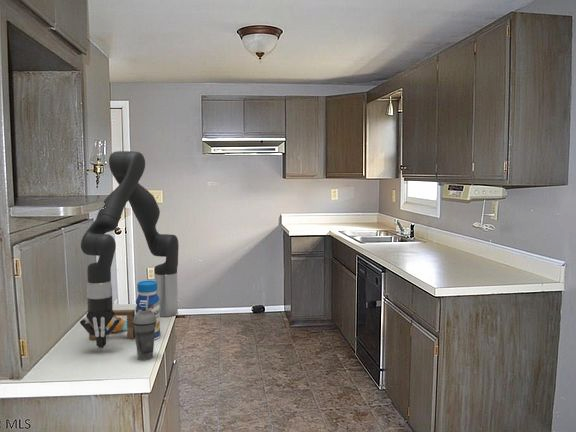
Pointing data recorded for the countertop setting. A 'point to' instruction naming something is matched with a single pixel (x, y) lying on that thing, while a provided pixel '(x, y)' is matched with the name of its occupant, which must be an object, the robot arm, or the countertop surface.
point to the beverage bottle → (149, 301)
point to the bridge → (130, 328)
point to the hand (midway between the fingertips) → (101, 347)
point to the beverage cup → (144, 332)
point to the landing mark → (123, 327)
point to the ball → (119, 326)
